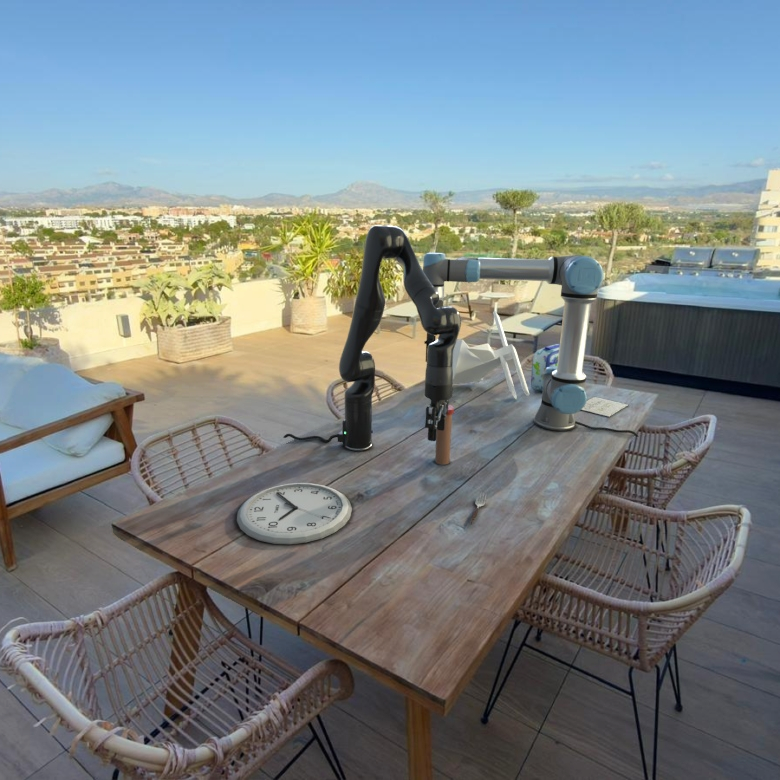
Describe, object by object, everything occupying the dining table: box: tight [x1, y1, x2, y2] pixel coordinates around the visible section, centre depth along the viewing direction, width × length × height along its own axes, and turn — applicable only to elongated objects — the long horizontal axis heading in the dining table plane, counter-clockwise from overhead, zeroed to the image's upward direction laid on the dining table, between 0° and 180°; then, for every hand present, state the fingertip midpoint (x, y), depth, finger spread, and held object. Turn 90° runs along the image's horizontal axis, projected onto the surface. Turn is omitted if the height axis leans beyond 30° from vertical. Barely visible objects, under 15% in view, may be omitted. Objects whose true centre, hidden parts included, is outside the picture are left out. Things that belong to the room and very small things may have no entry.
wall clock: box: [236, 482, 353, 545], centre depth 139 cm, size 30×2×30 cm
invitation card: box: [580, 396, 629, 418], centre depth 226 cm, size 21×1×15 cm
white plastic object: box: [452, 310, 531, 400], centre depth 245 cm, size 37×45×31 cm
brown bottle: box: [434, 414, 453, 466], centre depth 168 cm, size 5×5×18 cm
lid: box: [446, 404, 455, 415], centre depth 165 cm, size 6×6×2 cm
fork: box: [469, 491, 487, 526], centre depth 140 cm, size 3×16×2 cm, turn 160°
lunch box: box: [530, 343, 560, 392], centre depth 248 cm, size 26×11×21 cm, turn 134°
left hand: (436, 435), depth 148 cm, fingers open, 8 cm apart
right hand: (430, 357), depth 190 cm, fingers open, 13 cm apart
